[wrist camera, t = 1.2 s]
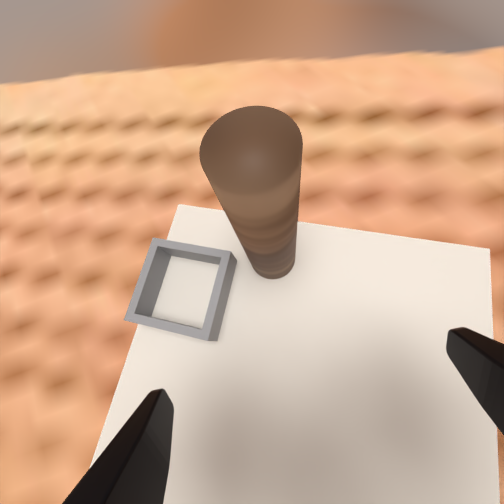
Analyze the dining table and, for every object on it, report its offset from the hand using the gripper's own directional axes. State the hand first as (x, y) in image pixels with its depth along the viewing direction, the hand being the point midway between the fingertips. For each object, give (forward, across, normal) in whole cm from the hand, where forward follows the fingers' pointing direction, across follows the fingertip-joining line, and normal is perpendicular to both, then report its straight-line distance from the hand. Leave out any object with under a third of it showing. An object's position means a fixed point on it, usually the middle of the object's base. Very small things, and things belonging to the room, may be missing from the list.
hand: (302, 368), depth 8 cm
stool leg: (+13, 0, +3) cm, 13 cm away
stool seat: (+8, +1, +11) cm, 13 cm away
